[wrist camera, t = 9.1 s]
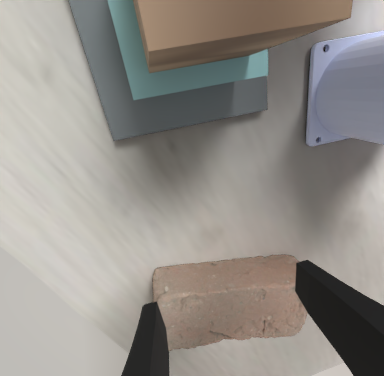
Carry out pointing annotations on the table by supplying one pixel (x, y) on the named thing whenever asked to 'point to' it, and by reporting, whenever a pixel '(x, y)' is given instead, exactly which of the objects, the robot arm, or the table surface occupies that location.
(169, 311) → the brick
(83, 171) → the table surface
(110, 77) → the baseplate
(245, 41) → the walnut block
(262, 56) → the base brick
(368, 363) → the robot arm
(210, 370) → the table surface
